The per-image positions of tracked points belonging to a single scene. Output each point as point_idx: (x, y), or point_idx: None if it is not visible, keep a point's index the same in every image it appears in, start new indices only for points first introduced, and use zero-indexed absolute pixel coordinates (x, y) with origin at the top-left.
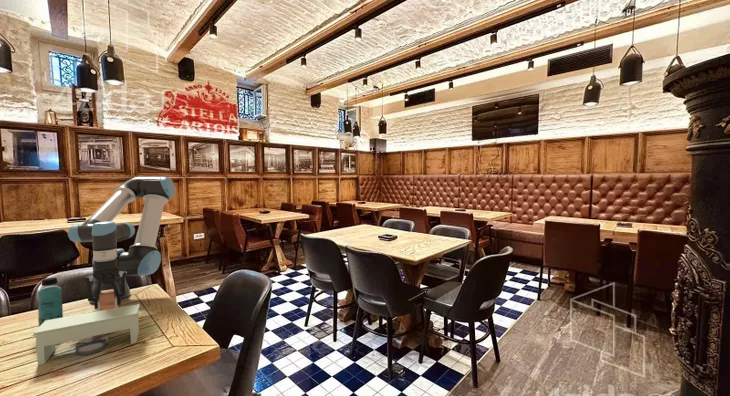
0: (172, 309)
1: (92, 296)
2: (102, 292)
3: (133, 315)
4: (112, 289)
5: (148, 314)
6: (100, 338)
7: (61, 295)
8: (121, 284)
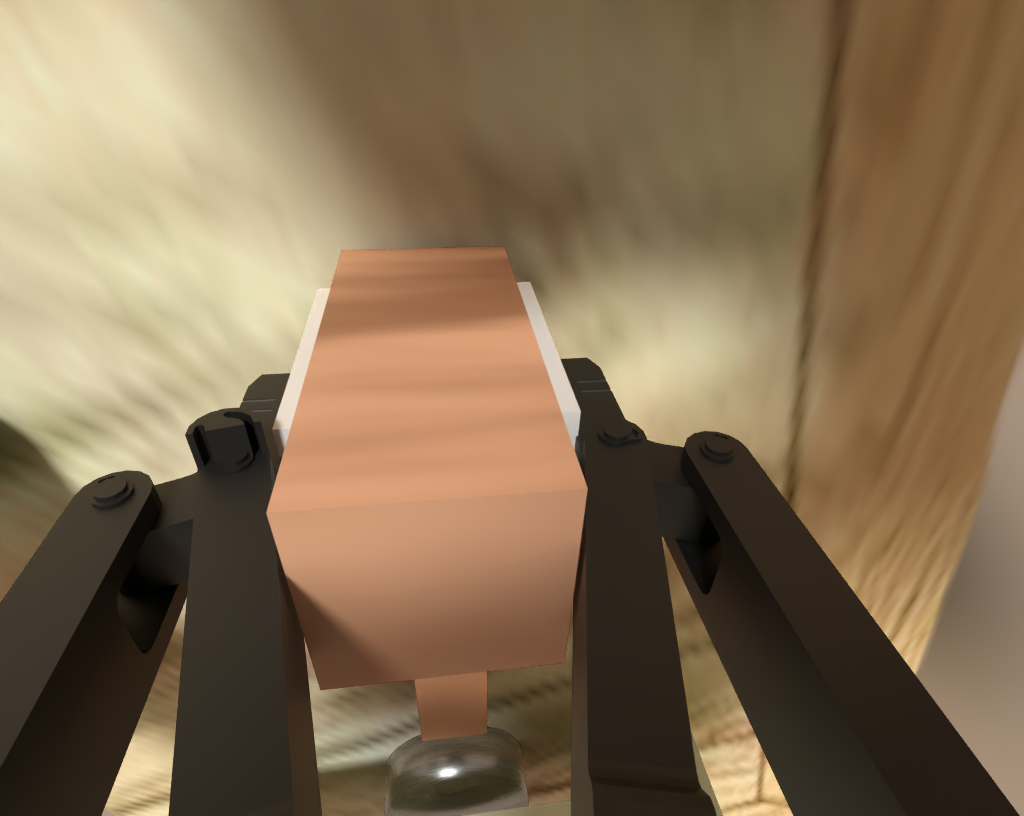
0: (975, 424)
1: (139, 540)
2: (344, 617)
3: None
4: (526, 506)
5: (782, 445)
6: (494, 803)
7: None
8: (766, 756)
